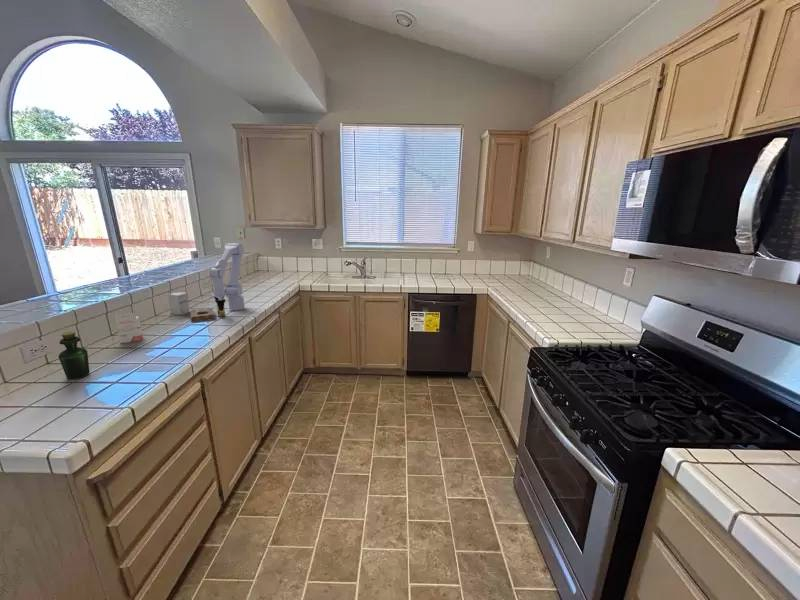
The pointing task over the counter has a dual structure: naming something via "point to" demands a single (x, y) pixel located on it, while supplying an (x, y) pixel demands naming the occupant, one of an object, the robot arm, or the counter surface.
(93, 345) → the counter surface
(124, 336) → the ink cartridge box
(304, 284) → the counter surface
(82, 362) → the potion bottle
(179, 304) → the supplement box
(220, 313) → the brass cylinder
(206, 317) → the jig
